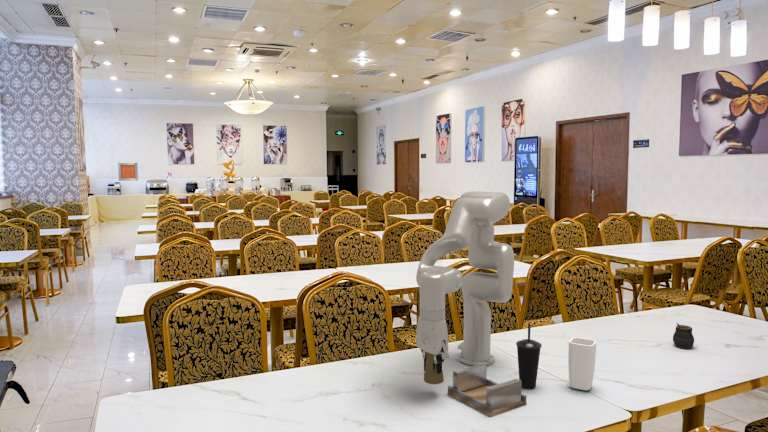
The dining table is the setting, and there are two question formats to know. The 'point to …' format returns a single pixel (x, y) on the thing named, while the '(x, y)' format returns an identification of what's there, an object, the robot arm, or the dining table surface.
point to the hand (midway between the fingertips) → (433, 372)
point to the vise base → (482, 398)
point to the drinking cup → (528, 361)
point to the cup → (581, 363)
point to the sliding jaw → (470, 377)
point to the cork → (431, 375)
